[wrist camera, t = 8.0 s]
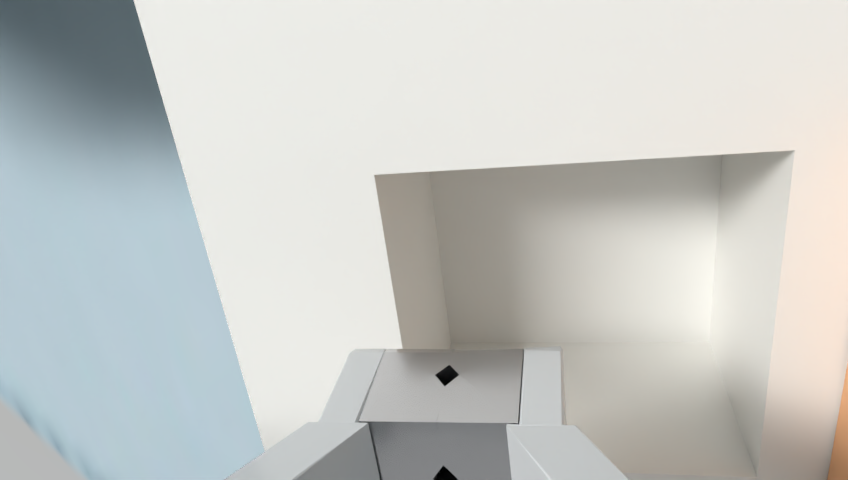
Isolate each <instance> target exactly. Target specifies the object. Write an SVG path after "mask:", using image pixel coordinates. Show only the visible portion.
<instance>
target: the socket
mask: <svg viewBox="0 0 848 480" xmlns="http://www.w3.org/2000/svg"><path fill="white" fill-rule="evenodd" d="M134 3H135V7H136V10H137V14H138V17H139V21H140V24H141V27H142V31H143V34H144V38H145V41H146V45H147V48H148V52H149V55H150V58H151V62H152V65H153V69H154V72H155V76H156V79H157V82H158V86H159V89H160V93H161V96H162V100H163V103H164V106H165V110H166V113H167V117H168V120H169V124H170V127H171V131H172V134H173V137H174V141H175V144H176V148H177V151H178V155H179V158H180V161H181V165H182V168H183V172H184V175H185V179H186V182H187V186H188V189H189V192H190V196H191V199H192V203H193V206H194V210H195V213H196V216H197V220H198V223H199V227H200V230H201V234H202V237H203V240H204V244H205V247H206V251H207V254H208V258H209V261H210V265H211V268H212V271H213V275H214V278H215V282H216V285H217V289H218V292H219V295H220V299H221V302H222V306H223V309H224V313H225V316H226V320H227V323H228V326H229V330H230V333H231V337H232V340H233V344H234V347H235V350H236V354H237V357H238V361H239V364H240V368H241V371H242V374H243V378H244V381H245V385H246V388H247V392H248V395H249V399H250V402H251V405H252V409H253V412H254V416H255V419H256V423H257V426H258V429H259V433H260V436H261V440H262V443H263V447H264V450H265V451H266V450H268V449H269V448H271V447H272V446H274V445H275V444H277V443H278V442H280V441H281V440H282V439H284V438H285V437H287V436H288V435H290V434H291V433H293V432H294V431H296V430H297V429H299V428H300V427H301V426H303V425H304V424H306V423H307V422H318V421H319V419H320V416H321V414H322V412H323V410H324V408H325V405H326V403H327V401H328V399H329V396H330V394H331V392H332V390H333V388H334V385H335V383H336V381H337V379H338V377H339V374H340V372H341V370H342V368H343V366H344V363H345V361H346V359H347V357H348V355H349V353H350V352H351V351H353V350H355V349H387V350H388V349H455V350H487V349H525V348H532V347H554V346H561V348H562V349H563V363H564V383H565V402H566V422H567V425H575V426H577V427H578V428H579V429H580V430H581V431H582V432H583V433H584V434H585V435H586V436H587V437H588V438H589V439H590V440H591V441H592V442H593V443H594V444H595V445H596V446H597V447H598V449H599V450H600V451H601V452H602V453H603V454H604V455H605V456H606V457H607V458H608V459H609V460H610V461H611V462H612V463H613V464H614V465H615V466H616V467H617V468H618V469H619V470H620V471H621V472H622V473H623V474H624V475H625V476H626V477H627V478H628V479H629V480H827V478H828V472H829V467H830V461H831V455H832V449H833V444H834V438H835V432H836V426H837V420H838V415H839V409H840V403H841V397H842V392H843V386H844V380H845V374H846V369H847V363H848V0H134Z"/></svg>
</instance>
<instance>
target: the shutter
mask: <svg viewBox="0 0 848 480" xmlns="http://www.w3.org/2000/svg"><path fill="white" fill-rule="evenodd" d="M827 480H848V363H847V369H846V374H845V380H844V386H843V392H842V397H841V403H840V409H839V415H838V420H837V426H836V432H835V438H834V444H833V449H832V455H831V461H830V467H829V472H828V478H827Z"/></svg>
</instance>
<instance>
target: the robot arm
mask: <svg viewBox="0 0 848 480" xmlns="http://www.w3.org/2000/svg"><path fill="white" fill-rule="evenodd" d="M224 480H629V479H628V478H627V477H626V476H625V475H624V474H623V473H622V472H621V471H620V470H619V469H618V468H617V467H616V466H615V465H614V464H613V463H612V462H611V461H610V460H609V459H608V458H607V457H606V456H605V455H604V454H603V453H602V452H601V451H600V450H599V449H598V447H597V446H596V445H595V444H594V443H593V442H592V441H591V440H590V439H589V438H588V437H587V436H586V435H585V434H584V433H583V432H582V431H581V430H580V429H579V428H578V427H577V426H575V425H567V422H566V402H565V383H564V363H563V349H562V348H561V346H554V347H532V348H525V349H487V350H455V349H388V350H387V349H355V350H353V351H351V352H350V353H349V355H348V357H347V359H346V361H345V363H344V366H343V368H342V370H341V372H340V374H339V377H338V379H337V381H336V383H335V385H334V388H333V390H332V392H331V394H330V396H329V399H328V401H327V403H326V405H325V408H324V410H323V412H322V414H321V416H320V419H319V421H318V422H307V423H306V424H304V425H303V426H301V427H300V428H299V429H297V430H296V431H294V432H293V433H291V434H290V435H288V436H287V437H285V438H284V439H282V440H281V441H280V442H278V443H277V444H275V445H274V446H272V447H271V448H269V449H268V450H266V451H265V452H264V453H262V454H261V455H259V456H258V457H256V458H255V459H253V460H252V461H250V462H249V463H247V464H246V465H245V466H243V467H242V468H240V469H239V470H237V471H236V472H234V473H233V474H231V475H230V476H228V477H227V478H226V479H224Z"/></svg>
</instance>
